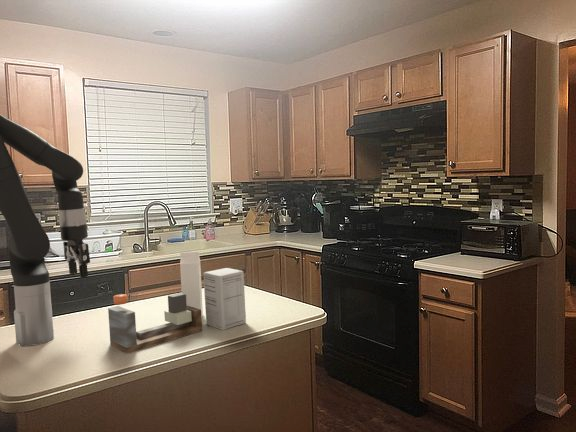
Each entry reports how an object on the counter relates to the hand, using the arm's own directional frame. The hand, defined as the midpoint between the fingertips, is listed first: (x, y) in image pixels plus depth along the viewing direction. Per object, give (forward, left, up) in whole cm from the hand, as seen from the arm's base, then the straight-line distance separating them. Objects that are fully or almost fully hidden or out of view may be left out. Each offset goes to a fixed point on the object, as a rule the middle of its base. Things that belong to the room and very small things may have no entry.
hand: (78, 275), depth 147 cm
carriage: (+19, -26, -14) cm, 35 cm away
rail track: (+12, -26, -17) cm, 33 cm away
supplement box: (+33, -31, -18) cm, 48 cm away
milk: (+30, -17, -17) cm, 38 cm away
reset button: (+1, -26, -5) cm, 26 cm away
